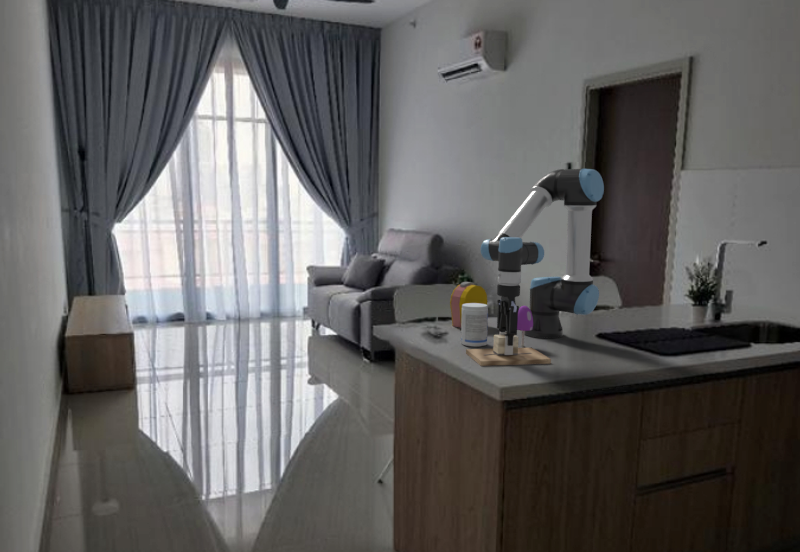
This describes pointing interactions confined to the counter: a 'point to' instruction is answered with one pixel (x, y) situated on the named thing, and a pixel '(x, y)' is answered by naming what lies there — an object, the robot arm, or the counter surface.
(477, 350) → the board
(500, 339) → the block
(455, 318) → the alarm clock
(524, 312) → the toy
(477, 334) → the supplement tub
